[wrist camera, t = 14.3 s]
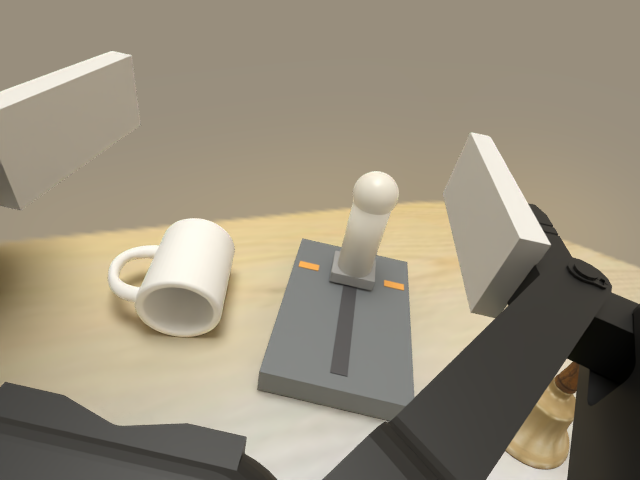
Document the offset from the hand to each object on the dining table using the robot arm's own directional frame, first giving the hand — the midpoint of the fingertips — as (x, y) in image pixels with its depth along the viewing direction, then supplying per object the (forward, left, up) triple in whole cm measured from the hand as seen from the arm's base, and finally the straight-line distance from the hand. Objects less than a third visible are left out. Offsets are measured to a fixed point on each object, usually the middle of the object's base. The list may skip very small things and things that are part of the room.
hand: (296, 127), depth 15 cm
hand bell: (+25, +7, -28) cm, 38 cm away
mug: (-13, +12, -28) cm, 33 cm away
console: (+6, +14, -27) cm, 31 cm away
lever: (+6, +19, -24) cm, 31 cm away
